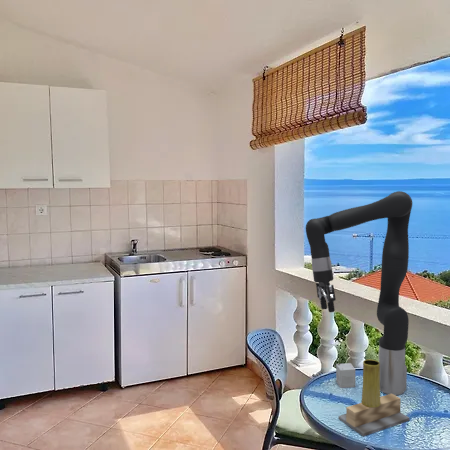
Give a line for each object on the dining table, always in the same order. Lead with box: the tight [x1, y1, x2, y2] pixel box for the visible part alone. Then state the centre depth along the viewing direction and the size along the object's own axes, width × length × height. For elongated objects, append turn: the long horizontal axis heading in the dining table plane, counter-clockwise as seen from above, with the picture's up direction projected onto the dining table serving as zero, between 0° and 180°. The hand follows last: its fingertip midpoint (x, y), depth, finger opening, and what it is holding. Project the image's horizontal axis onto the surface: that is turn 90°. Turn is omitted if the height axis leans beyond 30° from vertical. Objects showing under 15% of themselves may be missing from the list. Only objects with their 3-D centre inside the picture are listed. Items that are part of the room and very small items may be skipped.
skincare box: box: [335, 362, 356, 389], centre depth 184 cm, size 6×6×7 cm
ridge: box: [338, 394, 410, 437], centre depth 158 cm, size 20×12×6 cm, turn 116°
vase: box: [360, 358, 381, 408], centre depth 156 cm, size 6×6×14 cm
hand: (327, 310), depth 183 cm, fingers open, 8 cm apart
